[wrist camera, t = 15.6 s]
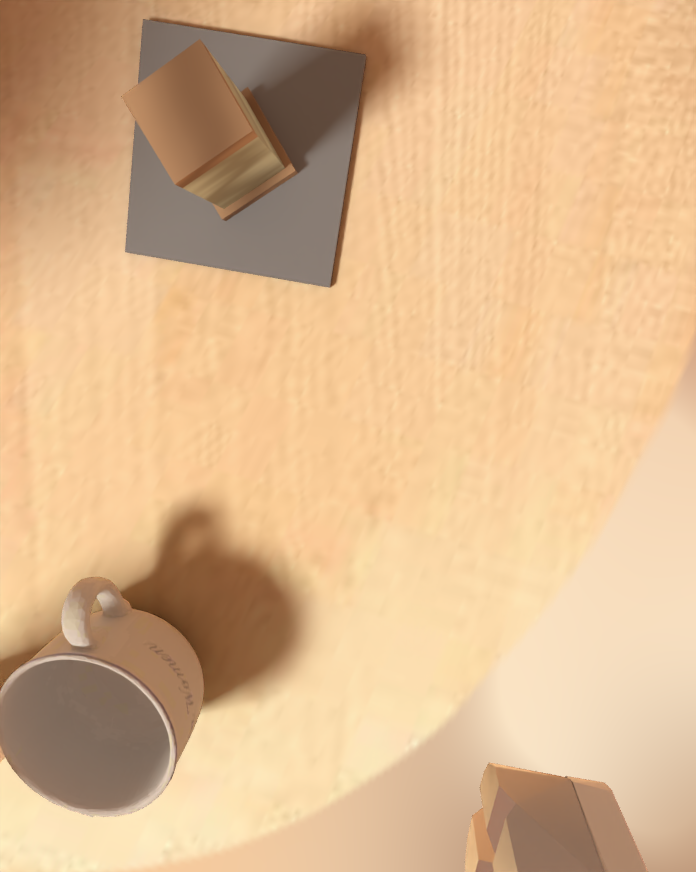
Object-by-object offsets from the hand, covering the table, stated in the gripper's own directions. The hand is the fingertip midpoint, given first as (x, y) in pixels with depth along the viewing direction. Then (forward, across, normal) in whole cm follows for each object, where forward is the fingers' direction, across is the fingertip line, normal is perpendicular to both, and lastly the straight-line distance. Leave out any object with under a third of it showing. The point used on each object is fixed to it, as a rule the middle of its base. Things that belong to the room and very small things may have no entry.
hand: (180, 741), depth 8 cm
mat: (+29, +8, -12) cm, 32 cm away
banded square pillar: (+29, +8, -12) cm, 32 cm away
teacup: (+29, +11, +19) cm, 37 cm away
